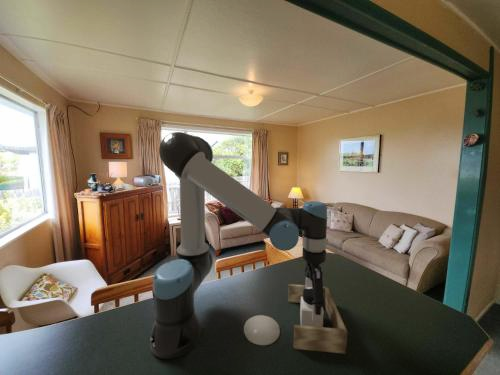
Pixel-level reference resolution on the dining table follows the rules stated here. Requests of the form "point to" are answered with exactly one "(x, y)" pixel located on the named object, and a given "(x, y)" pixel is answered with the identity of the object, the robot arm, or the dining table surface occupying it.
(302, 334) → the cubby
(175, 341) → the robot arm
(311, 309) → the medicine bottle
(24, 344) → the dining table surface
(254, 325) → the saucer
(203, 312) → the dining table surface
